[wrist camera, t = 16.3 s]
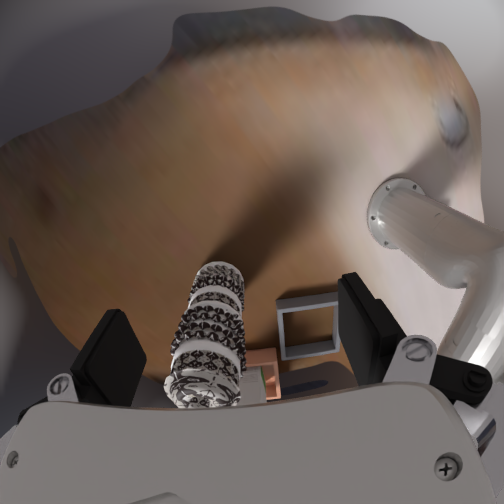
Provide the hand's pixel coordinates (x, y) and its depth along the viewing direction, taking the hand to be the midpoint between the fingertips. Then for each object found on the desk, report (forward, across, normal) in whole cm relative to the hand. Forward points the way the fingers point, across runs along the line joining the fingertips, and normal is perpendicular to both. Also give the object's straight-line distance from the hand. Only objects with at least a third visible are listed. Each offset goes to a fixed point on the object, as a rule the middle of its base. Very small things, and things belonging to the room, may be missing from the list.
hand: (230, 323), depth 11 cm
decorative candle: (+32, +7, +16) cm, 37 cm away
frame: (+32, -8, +27) cm, 43 cm away
